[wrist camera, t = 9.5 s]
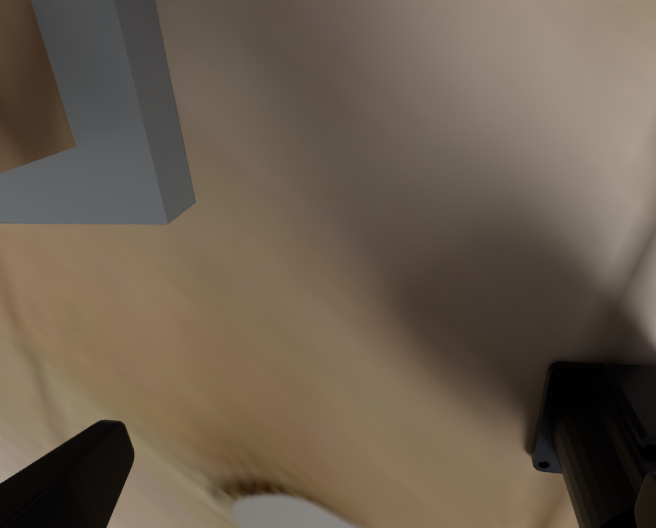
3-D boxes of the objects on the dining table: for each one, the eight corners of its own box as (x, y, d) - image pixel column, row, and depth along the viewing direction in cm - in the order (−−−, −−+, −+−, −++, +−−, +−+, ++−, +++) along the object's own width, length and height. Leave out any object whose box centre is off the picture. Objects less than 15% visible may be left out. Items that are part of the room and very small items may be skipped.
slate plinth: (195, 202, 20) (167, 224, 18) (-19, 203, 22) (-68, 222, 20) (129, -121, 15) (79, -145, 13) (-140, -81, 17) (-224, -97, 15)
